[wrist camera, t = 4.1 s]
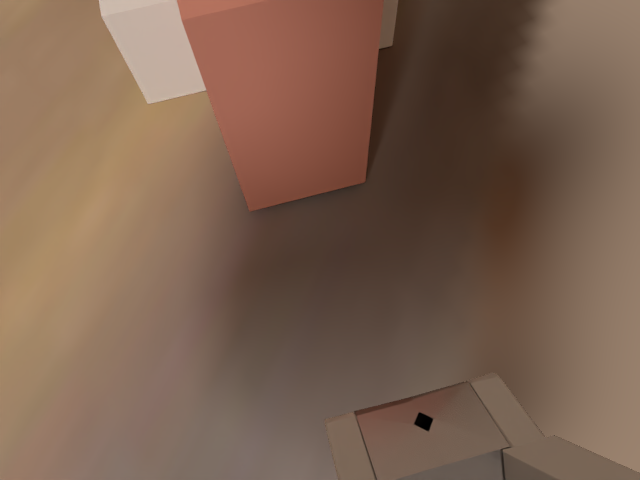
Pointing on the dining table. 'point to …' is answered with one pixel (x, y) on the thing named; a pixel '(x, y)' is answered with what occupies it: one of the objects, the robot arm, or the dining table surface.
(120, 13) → the dock
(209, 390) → the dining table surface
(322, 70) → the plug
